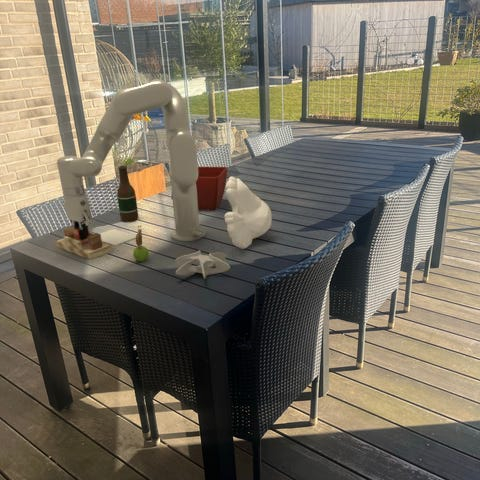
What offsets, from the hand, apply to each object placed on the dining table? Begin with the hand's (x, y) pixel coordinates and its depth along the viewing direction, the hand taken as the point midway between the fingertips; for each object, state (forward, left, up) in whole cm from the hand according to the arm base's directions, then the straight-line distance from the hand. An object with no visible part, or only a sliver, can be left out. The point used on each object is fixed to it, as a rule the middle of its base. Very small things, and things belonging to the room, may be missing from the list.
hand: (82, 237), depth 180 cm
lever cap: (0, 0, -2) cm, 2 cm away
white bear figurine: (-46, -40, -5) cm, 61 cm away
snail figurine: (-27, -6, -5) cm, 28 cm away
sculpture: (-52, -11, -5) cm, 53 cm away
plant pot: (-3, -64, -5) cm, 64 cm away
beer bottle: (+13, -32, -5) cm, 35 cm away
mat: (0, -14, -5) cm, 15 cm away
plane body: (0, 0, -5) cm, 5 cm away
